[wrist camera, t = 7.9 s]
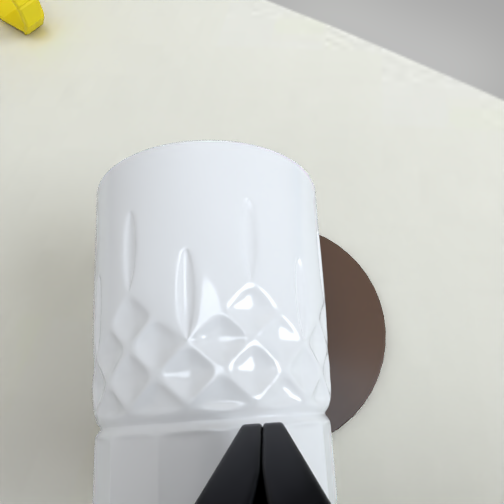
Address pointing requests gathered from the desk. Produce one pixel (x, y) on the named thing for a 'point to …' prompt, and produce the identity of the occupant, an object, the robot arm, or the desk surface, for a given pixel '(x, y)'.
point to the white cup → (205, 317)
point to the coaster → (350, 332)
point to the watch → (22, 14)
